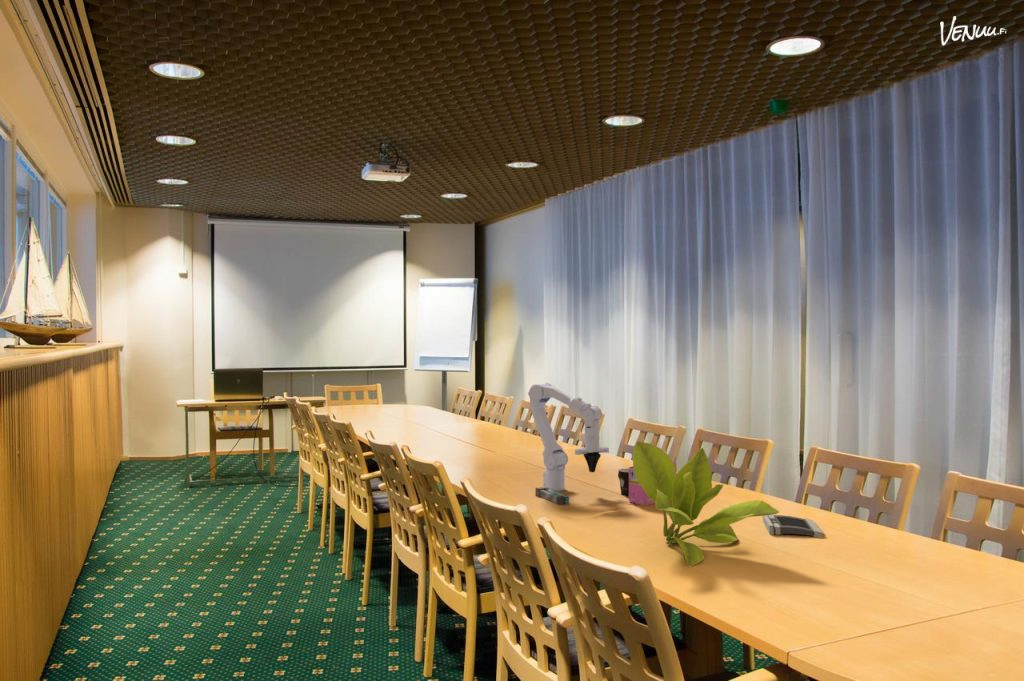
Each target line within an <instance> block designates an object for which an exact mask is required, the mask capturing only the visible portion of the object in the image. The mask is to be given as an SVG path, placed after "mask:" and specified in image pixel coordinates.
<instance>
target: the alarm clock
mask: <svg viewBox="0 0 1024 681" xmlns="http://www.w3.org/2000/svg"><path fill="white" fill-rule="evenodd" d="M762 522H764V523H763V524H765V525H764V527H765V528H766V530H767V533H768V534H769V536H775V535H786V534H787V535H789V534H792V535H793V534H794V535H806V536H810V537H814V538H823V536H824V532H823V530H822V529H821V528H820V526H819V525H818V524H817V523H816V522H815V520H813V519H810V518H806V517H804V518H801V517H797V516H792V515H791V516H790V515H782V514H781V515H780V514H772V515H765V516H762Z"/></svg>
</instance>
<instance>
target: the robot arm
mask: <svg viewBox="0 0 1024 681" xmlns="http://www.w3.org/2000/svg"><path fill="white" fill-rule="evenodd" d="M527 395H528V397H529V409H530V413H531V415H532V418H533V420H534V423H535V425H536V427H537V431H538V434H539V435H540V439H541V441H542V444H543V448H544V449H543V451H542V456H543V465H544V467H546V468H545V469H544V470H543V474H542V476H543V477H542V478H543V480H542V481H543V482H542V483H543V486H542V487H548V488H549V490H552V491H554V492H558V491H565V489H566V488H565V487H566V485H565V484H566V482H565V480H566V479H565V477H566V476H565V474H566V473H565V472H566V471H565V470H566V465H567V464H568V462H569V457H568V454H567V453H566V451H565V450H564V448H563V447H562V446H561V445H560V444H559V443H558V441H557V439H556V436H555V433H554V431H553V429H552V426H551V424H550V421H549V418H548V415H547V412H546V410H545V407H546V405H547V403H548V402H549V401H550V400H551V399H555V400H556V401H558V402H560V403H563V404H565V405H566V406H568V409H569V411H571V412H572V413H575V414H577V416H580V417H581V418H582V420H583V422H584V448H576V449H574V455H577V456H580V455H583V457H584V458H585V462H586V464H587V467H588V471H589V473H595V472H596V468H597V465H598V462H599V460H600V458H601V456H602V454H603V453H605V454H606V453H609V452H610V451H609V450H610V448H609V447H608V446H607V447H606V446H603V447H601V446H600V420H601V418H602V416H603V413H602V410H601V408H600V407H599V406H597V405H594V406H592V404H591V403H587V402H586V401H584V400H583V398H581V397H571V396H570V395H568V394H567V393H565V392H564V391H562V390H560V389H559V388H558V387H556V385H552V384H551V383H549V382H548V383H547V382H546V383H540V384H532V385H531V386H530V388H529V390H528V393H527ZM601 453H602V454H601Z"/></svg>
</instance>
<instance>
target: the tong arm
mask: <svg viewBox="0 0 1024 681" xmlns="http://www.w3.org/2000/svg"><path fill="white" fill-rule="evenodd" d="M547 491H548V492H550V493H553V494H555V495H558V496H561V497H564V505H569V504H570V496H569V495H566V494H562V493H559V492H558V491H552V490H547Z"/></svg>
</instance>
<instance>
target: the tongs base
mask: <svg viewBox="0 0 1024 681" xmlns="http://www.w3.org/2000/svg"><path fill="white" fill-rule="evenodd" d="M534 489H535V496H536V497H540V498H542V499H544V500H548V501H550V502H552V503H555V504H557V505H560V506H564V505H565V504H564V497H561V496H558V495H555V494H553V493H550V492H548V491H547V490H549V488H548V487H543V486H538V487H535V488H534Z"/></svg>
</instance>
